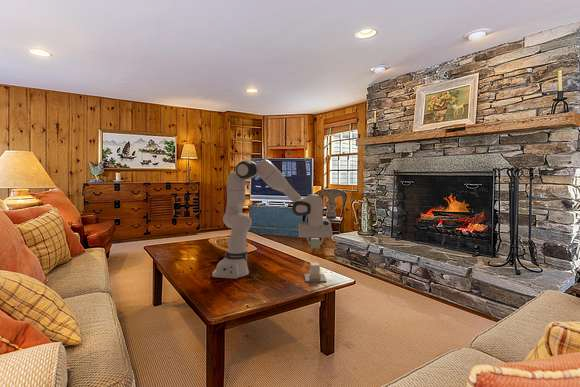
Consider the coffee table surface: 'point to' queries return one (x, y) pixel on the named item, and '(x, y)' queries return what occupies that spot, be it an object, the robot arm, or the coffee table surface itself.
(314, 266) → the cream brick
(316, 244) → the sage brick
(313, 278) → the build pad
